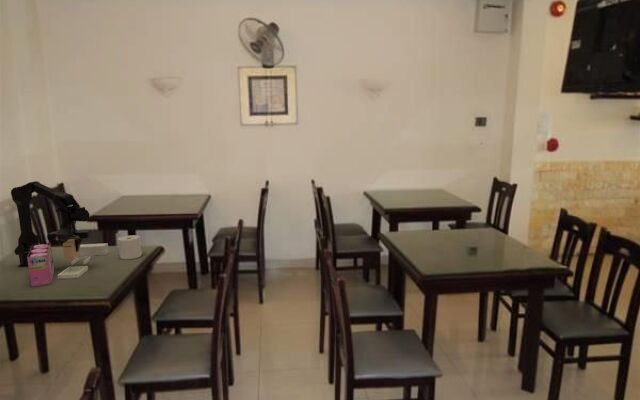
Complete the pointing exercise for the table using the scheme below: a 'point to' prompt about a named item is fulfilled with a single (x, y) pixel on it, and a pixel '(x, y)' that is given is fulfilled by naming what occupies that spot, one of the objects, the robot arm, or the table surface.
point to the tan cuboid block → (70, 249)
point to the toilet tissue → (129, 247)
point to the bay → (91, 251)
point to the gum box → (40, 264)
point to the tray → (72, 272)
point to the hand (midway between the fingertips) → (72, 252)
